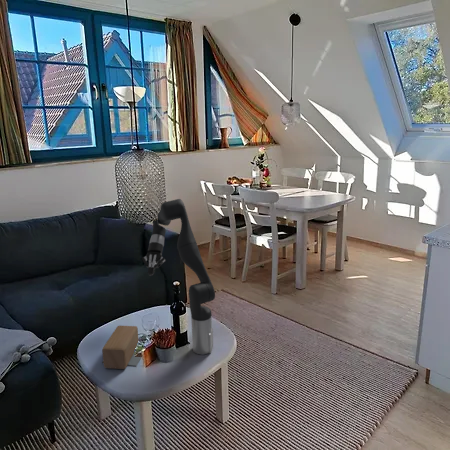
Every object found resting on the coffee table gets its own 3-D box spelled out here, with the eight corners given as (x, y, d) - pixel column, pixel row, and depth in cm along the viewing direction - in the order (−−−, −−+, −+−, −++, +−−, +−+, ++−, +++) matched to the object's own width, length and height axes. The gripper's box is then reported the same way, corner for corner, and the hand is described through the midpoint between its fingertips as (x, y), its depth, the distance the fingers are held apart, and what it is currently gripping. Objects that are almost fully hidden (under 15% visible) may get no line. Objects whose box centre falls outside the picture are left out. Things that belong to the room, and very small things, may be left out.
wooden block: (138, 325, 188) (123, 349, 169) (139, 343, 191) (125, 370, 172) (117, 324, 189) (101, 348, 170) (119, 343, 192) (103, 369, 173)
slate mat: (147, 348, 188) (147, 347, 188) (136, 366, 175) (136, 365, 175) (115, 345, 191) (115, 344, 190) (102, 363, 177) (102, 362, 177)
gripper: (142, 241, 210) (135, 271, 202) (166, 241, 208) (160, 272, 200) (146, 247, 217) (140, 277, 208) (170, 248, 214) (164, 278, 206)
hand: (150, 275), depth 204 cm, fingers closed
